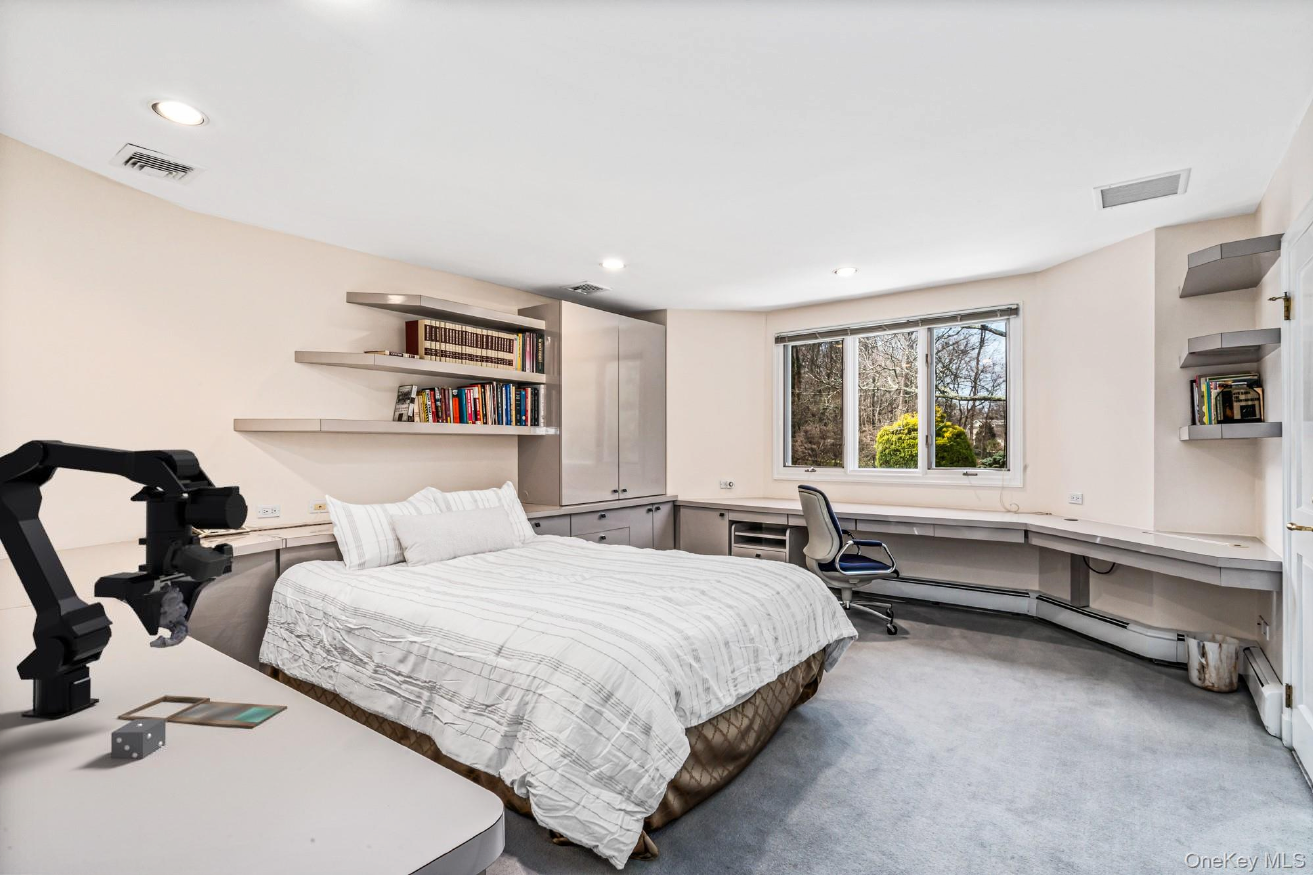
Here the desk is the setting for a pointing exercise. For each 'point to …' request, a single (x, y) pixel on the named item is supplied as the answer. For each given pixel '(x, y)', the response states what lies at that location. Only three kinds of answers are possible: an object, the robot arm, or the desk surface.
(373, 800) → the desk surface
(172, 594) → the seashell
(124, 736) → the die
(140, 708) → the frame
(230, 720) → the board
